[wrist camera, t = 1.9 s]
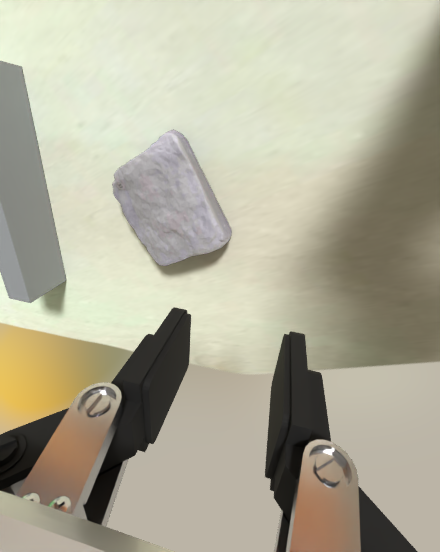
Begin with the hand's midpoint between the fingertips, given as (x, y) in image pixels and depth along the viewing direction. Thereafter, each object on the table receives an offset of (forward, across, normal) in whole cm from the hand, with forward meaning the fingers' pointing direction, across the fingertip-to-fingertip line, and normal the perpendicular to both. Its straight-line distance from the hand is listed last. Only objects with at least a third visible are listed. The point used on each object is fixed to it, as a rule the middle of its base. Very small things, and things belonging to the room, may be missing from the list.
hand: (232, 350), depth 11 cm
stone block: (+20, +10, 0) cm, 22 cm away
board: (+19, +28, 0) cm, 34 cm away
